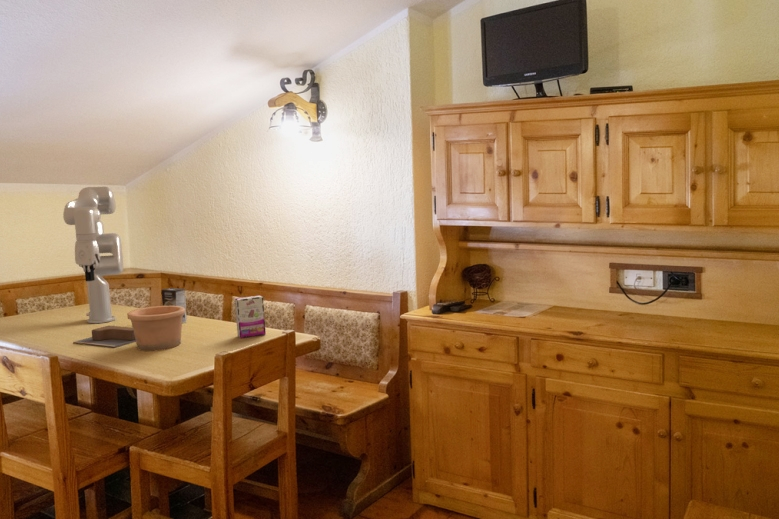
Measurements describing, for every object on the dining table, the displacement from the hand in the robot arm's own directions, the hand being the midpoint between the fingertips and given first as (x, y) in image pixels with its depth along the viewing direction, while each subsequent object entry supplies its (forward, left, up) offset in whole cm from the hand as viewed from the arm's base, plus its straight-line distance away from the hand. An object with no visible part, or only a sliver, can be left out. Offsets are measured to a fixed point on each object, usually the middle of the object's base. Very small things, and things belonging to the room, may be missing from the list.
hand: (90, 280), depth 272 cm
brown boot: (+3, 0, -22) cm, 23 cm away
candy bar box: (+63, +26, -25) cm, 73 cm away
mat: (+10, 0, -25) cm, 27 cm away
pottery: (+37, 0, -25) cm, 45 cm away
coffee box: (+11, +36, -25) cm, 45 cm away
